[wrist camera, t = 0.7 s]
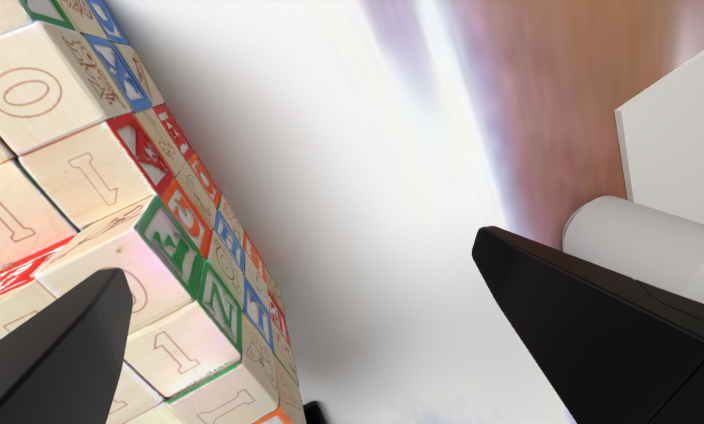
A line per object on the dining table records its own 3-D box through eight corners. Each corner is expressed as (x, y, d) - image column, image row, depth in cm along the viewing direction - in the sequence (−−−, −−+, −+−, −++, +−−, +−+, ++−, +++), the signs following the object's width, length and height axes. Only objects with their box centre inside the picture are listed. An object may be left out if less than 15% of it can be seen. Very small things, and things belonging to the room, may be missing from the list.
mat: (637, 270, 38) (643, 272, 37) (614, 110, 29) (621, 111, 28) (735, 200, 38) (742, 202, 38) (742, 23, 29) (751, 22, 29)
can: (552, 212, 31) (716, 282, 20) (618, 180, 32) (808, 231, 21) (556, 274, 34) (699, 364, 23) (616, 244, 35) (780, 316, 24)
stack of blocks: (-36, 28, 16) (-654, -86, 5) (94, -20, 17) (-196, -211, 6) (207, 332, 25) (179, 527, 14) (284, 293, 26) (313, 450, 15)
